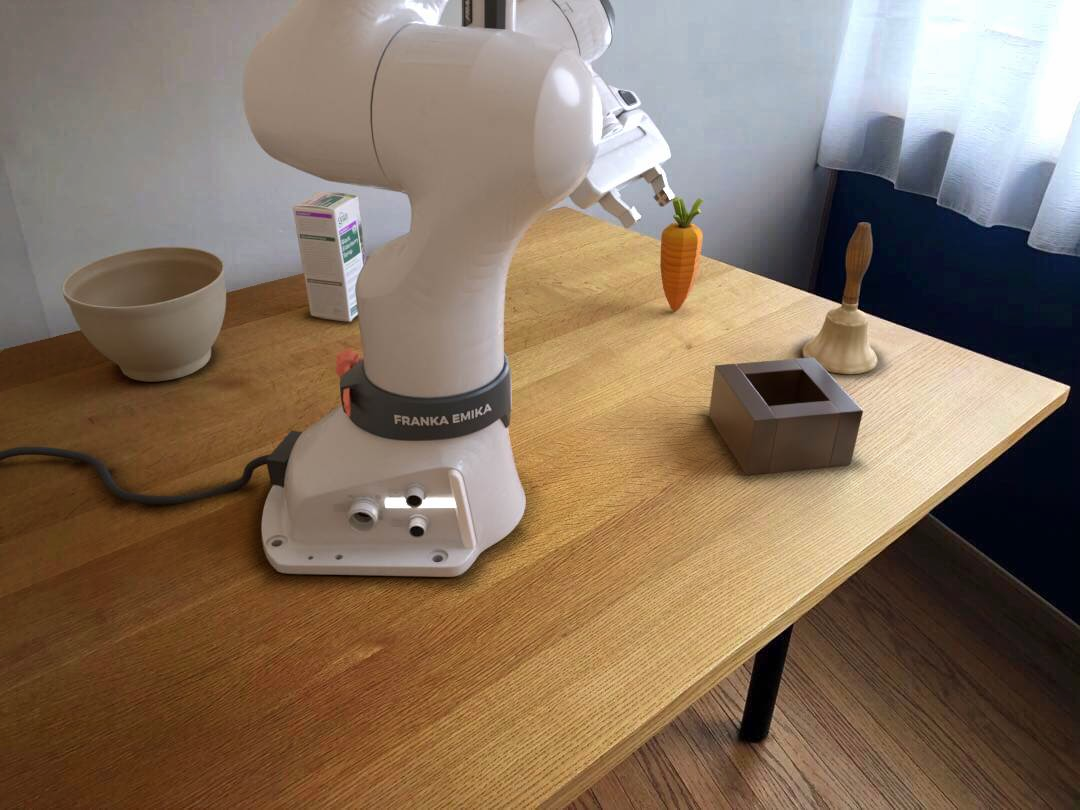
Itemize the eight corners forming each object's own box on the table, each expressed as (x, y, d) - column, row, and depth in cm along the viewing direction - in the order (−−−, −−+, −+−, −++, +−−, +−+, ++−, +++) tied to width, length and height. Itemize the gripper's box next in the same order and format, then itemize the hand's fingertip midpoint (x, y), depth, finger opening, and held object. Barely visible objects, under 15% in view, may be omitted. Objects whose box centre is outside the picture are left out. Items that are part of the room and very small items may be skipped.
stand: (745, 475, 79) (754, 420, 76) (708, 416, 88) (714, 364, 85) (850, 464, 81) (863, 410, 78) (803, 407, 90) (813, 356, 87)
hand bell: (822, 378, 95) (850, 240, 87) (790, 343, 102) (812, 213, 94) (891, 371, 96) (925, 235, 88) (854, 337, 103) (882, 209, 95)
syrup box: (350, 323, 106) (336, 209, 99) (308, 316, 108) (291, 203, 100) (372, 304, 111) (360, 194, 103) (331, 298, 112) (316, 189, 105)
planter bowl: (56, 389, 92) (25, 296, 87) (148, 324, 106) (126, 240, 100) (189, 408, 89) (166, 313, 83) (267, 339, 102) (251, 253, 97)
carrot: (693, 303, 112) (705, 190, 104) (695, 320, 107) (708, 203, 99) (655, 302, 112) (664, 188, 104) (655, 318, 108) (665, 201, 100)
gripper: (556, 121, 95) (630, 223, 96) (640, 89, 110) (703, 177, 110) (523, 156, 99) (593, 253, 100) (608, 120, 114) (669, 205, 115)
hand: (652, 213), depth 105 cm, fingers open, 8 cm apart
